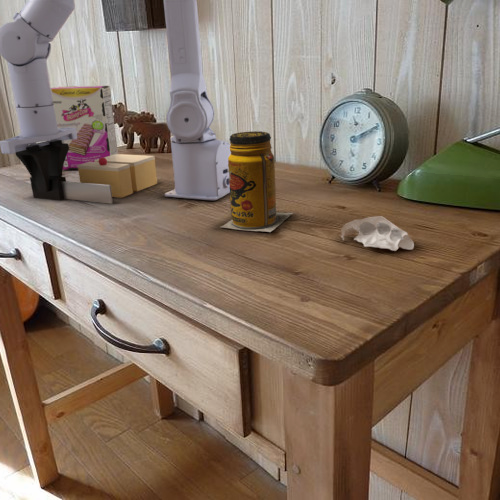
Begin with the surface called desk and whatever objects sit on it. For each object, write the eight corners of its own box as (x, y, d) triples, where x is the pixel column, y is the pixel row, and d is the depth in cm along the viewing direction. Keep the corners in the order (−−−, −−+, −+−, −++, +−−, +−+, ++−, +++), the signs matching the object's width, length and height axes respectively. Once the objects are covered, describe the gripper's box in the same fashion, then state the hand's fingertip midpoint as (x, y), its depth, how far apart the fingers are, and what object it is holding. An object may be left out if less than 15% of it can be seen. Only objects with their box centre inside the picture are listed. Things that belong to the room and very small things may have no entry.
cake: (157, 183, 97) (154, 155, 96) (137, 191, 92) (133, 162, 91) (119, 180, 101) (116, 153, 99) (98, 188, 96) (94, 160, 94)
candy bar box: (60, 170, 112) (46, 88, 106) (70, 165, 116) (57, 86, 110) (112, 169, 110) (101, 86, 105) (120, 164, 115) (110, 84, 109)
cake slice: (133, 193, 91) (128, 156, 89) (121, 197, 89) (117, 160, 87) (93, 189, 95) (88, 154, 93) (81, 194, 92) (76, 158, 90)
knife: (33, 197, 91) (29, 177, 90) (42, 194, 93) (38, 174, 92) (108, 205, 85) (105, 183, 84) (116, 201, 87) (113, 180, 85)
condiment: (219, 228, 72) (213, 137, 67) (246, 210, 79) (242, 127, 74) (270, 233, 69) (267, 138, 64) (293, 215, 76) (292, 128, 72)
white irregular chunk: (365, 231, 68) (366, 202, 66) (418, 248, 62) (421, 216, 60) (333, 242, 65) (334, 211, 63) (387, 260, 59) (388, 227, 57)
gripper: (49, 101, 94) (62, 178, 98) (-22, 111, 81) (-3, 198, 86) (81, 101, 91) (93, 180, 95) (12, 111, 78) (29, 201, 83)
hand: (49, 189), depth 91 cm, fingers closed on knife, 2 cm apart
